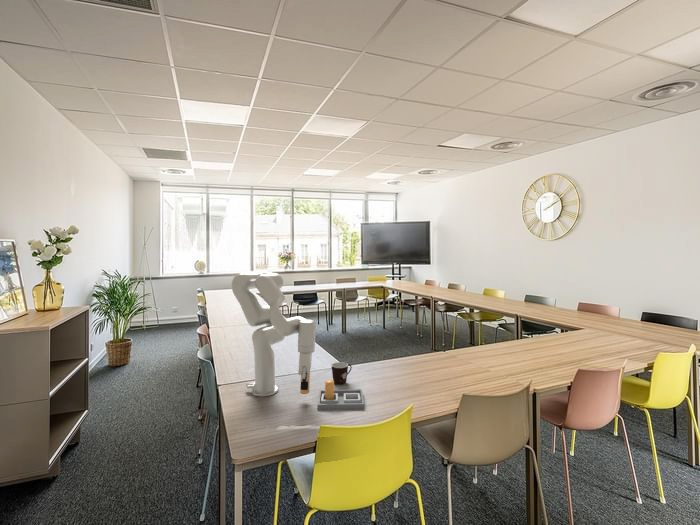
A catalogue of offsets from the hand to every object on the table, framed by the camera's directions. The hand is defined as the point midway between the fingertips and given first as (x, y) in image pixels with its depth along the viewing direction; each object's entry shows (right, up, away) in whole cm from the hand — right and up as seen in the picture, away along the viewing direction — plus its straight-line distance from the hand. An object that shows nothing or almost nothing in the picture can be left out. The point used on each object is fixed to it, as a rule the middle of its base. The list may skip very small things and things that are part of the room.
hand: (304, 386), depth 153 cm
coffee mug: (+17, -7, +22) cm, 28 cm away
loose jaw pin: (0, -2, 0) cm, 2 cm away
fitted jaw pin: (+11, -6, 0) cm, 13 cm away
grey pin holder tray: (+16, -7, 0) cm, 18 cm away
